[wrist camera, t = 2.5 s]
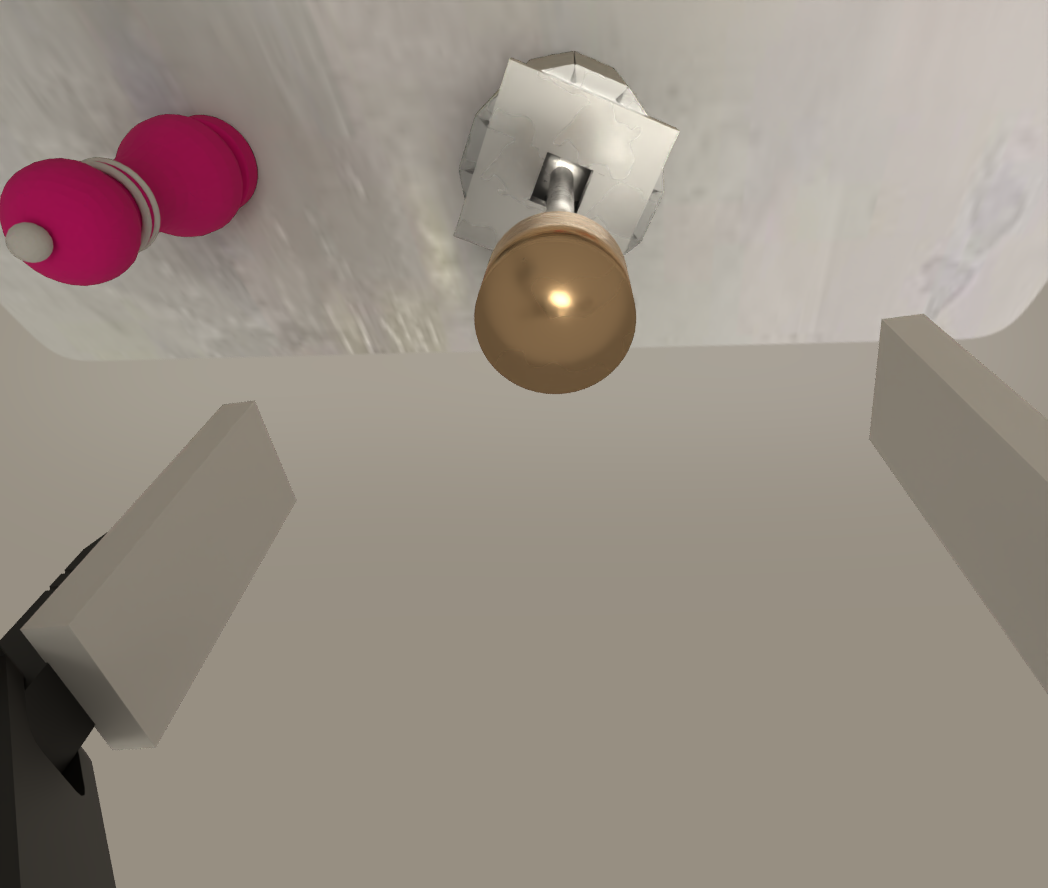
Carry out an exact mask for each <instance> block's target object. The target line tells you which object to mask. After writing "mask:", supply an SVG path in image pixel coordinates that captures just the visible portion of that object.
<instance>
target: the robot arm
mask: <svg viewBox="0 0 1048 888" xmlns="http://www.w3.org/2000/svg"><path fill="white" fill-rule="evenodd" d="M876 370H877V371H876V379H875V388H874V398H873V408H872V417H871V427H870V437H869V439H870V441H871V442H872V444H873V445H874V447H875V448H876V449H877V451H878V452H879V454H880V455H881V457H882V458H883V460H884V461H885V462H886V464H887V465H888V467H889V468H890V470H891V471H892V472H893V474H894V475H895V477H896V478H897V480H898V481H899V482H900V484H901V485H902V487H903V488H904V490H905V491H906V492H907V494H908V495H909V497H910V498H911V500H912V501H913V502H914V504H915V505H916V507H917V508H918V510H919V511H920V512H921V514H922V515H923V517H924V518H925V520H926V521H927V522H928V524H929V525H930V527H931V528H932V530H933V531H934V532H935V534H936V535H937V537H938V538H939V540H940V541H941V542H942V544H943V545H944V547H945V548H946V550H947V551H948V552H949V554H950V555H951V557H952V558H953V560H954V561H955V562H956V564H957V565H958V567H959V568H960V569H961V571H962V572H963V574H964V575H965V576H966V578H967V580H968V581H969V582H970V584H971V585H972V586H973V588H974V589H975V591H976V592H977V594H978V595H979V597H980V598H981V599H982V601H983V602H984V604H985V605H986V607H987V608H988V609H989V611H990V612H991V614H992V615H993V616H994V618H995V619H996V621H997V622H998V624H999V625H1000V626H1001V628H1002V629H1003V631H1004V632H1005V634H1006V635H1007V636H1008V638H1009V639H1010V641H1011V642H1012V644H1013V645H1014V646H1015V648H1016V649H1017V651H1018V652H1019V654H1020V655H1021V657H1022V658H1023V659H1024V661H1025V662H1026V664H1027V665H1028V666H1029V668H1030V669H1031V671H1032V672H1033V674H1034V675H1035V677H1036V678H1037V679H1038V681H1039V682H1040V684H1041V685H1042V687H1043V688H1044V689H1045V690H1046V692H1047V694H1048V419H1047V418H1046V417H1044V416H1043V415H1042V414H1041V413H1040V412H1039V411H1037V410H1036V409H1035V408H1034V407H1032V406H1031V405H1030V404H1029V403H1028V402H1027V401H1026V400H1024V399H1023V398H1022V397H1021V396H1020V395H1018V394H1017V393H1016V392H1015V391H1014V390H1013V389H1011V388H1010V387H1009V386H1008V385H1007V384H1005V383H1004V382H1003V381H1002V380H1001V379H1000V378H998V377H997V376H996V375H995V374H994V373H993V372H991V371H990V370H989V369H988V368H987V367H985V366H984V365H983V364H982V363H981V362H980V361H978V360H977V359H976V358H975V357H974V356H972V355H971V354H970V353H969V352H968V351H967V350H965V349H964V348H963V347H962V346H961V345H960V344H958V343H957V342H956V341H955V340H954V339H953V338H951V337H950V336H949V335H948V334H947V333H945V332H944V331H943V330H942V329H941V328H940V327H938V326H937V325H936V324H935V323H934V322H933V321H931V320H930V319H929V318H928V317H927V316H925V315H924V314H919V315H911V316H903V317H895V318H888V319H882V321H881V330H880V340H879V351H878V359H877V369H876ZM295 502H296V498H295V495H294V493H293V491H292V488H291V486H290V484H289V481H288V479H287V476H286V474H285V472H284V469H283V467H282V464H281V462H280V460H279V457H278V455H277V453H276V450H275V448H274V445H273V443H272V441H271V438H270V436H269V433H268V431H267V429H266V426H265V424H264V422H263V419H262V417H261V415H260V412H259V410H258V407H257V405H256V402H255V401H247V402H239V403H232V404H224V405H222V406H221V407H220V408H219V409H218V411H217V412H216V413H215V414H214V415H213V416H212V417H211V418H210V419H209V421H208V422H207V423H206V424H205V425H204V426H203V427H202V428H201V429H200V431H199V432H198V433H197V434H196V435H195V436H194V437H193V438H192V439H191V440H190V442H189V443H188V444H187V445H186V446H185V447H184V448H183V449H182V450H181V452H180V453H179V454H178V455H177V456H176V457H175V458H174V459H173V460H172V462H171V463H170V464H169V465H168V466H167V467H166V468H165V469H164V470H163V471H162V473H161V474H160V475H159V476H158V477H157V478H156V479H155V480H154V481H153V483H152V484H151V485H150V486H149V487H148V488H147V489H146V490H145V491H144V493H143V494H142V495H141V496H140V497H139V498H138V499H137V500H136V501H135V503H134V504H133V505H132V506H131V507H130V508H129V509H128V510H127V511H126V513H125V514H124V515H123V516H122V517H121V518H120V519H119V520H118V522H117V523H116V524H115V525H114V526H113V527H112V528H111V529H110V530H109V531H108V532H107V533H106V534H104V535H103V536H102V537H100V538H99V539H97V540H96V541H95V542H93V543H92V544H90V545H89V546H88V547H86V548H85V549H83V551H82V552H81V553H80V554H79V555H78V556H77V557H76V558H75V559H74V561H72V563H71V564H70V565H69V566H68V567H67V568H66V569H65V574H61V575H60V576H59V577H58V578H57V579H56V580H55V581H54V582H53V583H52V584H51V586H50V590H49V591H45V592H44V593H43V594H42V595H41V596H40V598H39V599H38V600H37V601H36V602H35V603H34V604H33V605H32V606H31V607H30V608H29V610H28V611H27V612H26V613H25V614H24V615H23V616H22V617H21V618H20V619H19V620H18V621H17V623H16V624H15V625H14V626H13V627H12V628H11V629H10V630H9V631H8V632H7V633H6V634H5V636H4V637H3V638H2V639H1V640H0V888H116V886H115V880H114V876H113V870H112V865H111V860H110V854H109V849H108V844H107V840H106V834H105V829H104V824H103V818H102V813H101V808H100V803H99V797H98V792H97V787H96V781H95V776H94V771H93V766H92V761H91V760H90V758H89V756H88V755H87V753H86V752H85V751H84V749H83V748H82V747H81V745H82V744H83V742H84V741H85V740H86V738H87V737H88V735H89V734H90V732H91V731H92V729H93V728H94V727H95V728H96V729H97V731H98V732H99V733H100V734H101V736H102V737H103V738H104V740H105V741H106V742H107V744H108V745H109V746H110V748H111V749H112V750H123V749H141V748H155V747H156V746H157V744H158V743H159V741H160V739H161V737H162V736H163V734H164V732H165V730H166V729H167V727H168V725H169V723H170V722H171V720H172V718H173V716H174V715H175V713H176V711H177V709H178V708H179V706H180V704H181V702H182V701H183V699H184V697H185V695H186V694H187V692H188V690H189V688H190V686H191V685H192V683H193V681H194V679H195V678H196V676H197V674H198V672H199V671H200V669H201V667H202V665H203V663H204V662H205V660H206V658H207V657H208V655H209V653H210V651H211V650H212V648H213V646H214V644H215V643H216V641H217V639H218V637H219V636H220V634H221V632H222V630H223V628H224V627H225V625H226V623H227V622H228V620H229V618H230V616H231V615H232V613H233V611H234V609H235V608H236V606H237V604H238V602H239V600H240V599H241V597H242V595H243V593H244V592H245V590H246V588H247V587H248V585H249V583H250V581H251V580H252V578H253V576H254V574H255V572H256V571H257V569H258V567H259V565H260V564H261V562H262V560H263V559H264V557H265V555H266V553H267V551H268V550H269V548H270V546H271V544H272V543H273V541H274V539H275V537H276V536H277V534H278V532H279V530H280V529H281V527H282V525H283V523H284V522H285V520H286V518H287V516H288V515H289V513H290V511H291V509H292V508H293V506H294V504H295Z"/></svg>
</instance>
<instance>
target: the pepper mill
mask: <svg viewBox="0 0 1048 888" xmlns="http://www.w3.org/2000/svg"><path fill="white" fill-rule="evenodd" d="M257 178H258V177H257V165H256V161H255V157H254V155H253V153H252V150H251V148H250V146H249V145H248V143H247V142H246V140H245V139H244V138H243V136H242V135H241V134H240V133H239V132H238V131H237V130H236V129H234V128H233V127H232V126H231V125H229V124H227V123H226V122H224V121H223V120H220V119H218V118H215V117H212V116H206V115H194V116H189V117H187V116H182V115H174V114H165V115H158V116H155V117H152V118H150V119H147V120H145V121H143V122H141V123H139V124H137V125H136V126H135V127H134V128H132V129H131V130H130V132H129V133H128V134H127V135H126V136H125V138H124V139H123V140H122V142H121V144H120V146H119V148H118V151H117V154H116V158H115V159H114V160H111V159H107V158H100V157H94V158H88V159H85V160H83V161H76V160H70V159H63V158H55V159H46V160H42V161H38V162H34V163H32V164H30V165H28V166H26V167H24V168H23V169H21V170H19V171H18V172H16V173H15V174H14V175H13V176H12V177H11V178H10V179H9V180H8V182H7V183H6V185H5V187H4V189H3V192H2V194H1V198H0V222H1V226H2V229H3V233H4V235H5V237H6V244H7V247H8V249H9V250H10V252H11V253H12V254H13V255H14V256H15V257H17V258H18V259H20V260H22V261H23V262H25V263H26V264H27V265H29V266H30V267H31V268H32V269H34V270H35V271H37V272H39V273H40V274H42V275H44V276H46V277H48V278H50V279H53V280H56V281H58V282H61V283H66V284H70V285H80V286H88V285H95V284H100V283H104V282H106V281H109V280H112V279H114V278H116V277H118V276H120V275H121V274H122V273H123V272H125V271H126V270H127V269H128V268H129V267H130V266H131V265H132V264H133V263H134V261H135V259H136V257H137V254H138V253H139V252H140V251H142V250H144V249H146V248H148V247H149V246H150V245H151V244H152V243H153V242H154V240H155V239H156V237H157V235H158V233H159V232H163V233H167V234H170V235H174V236H181V237H195V236H203V235H206V234H208V233H211V232H213V231H216V230H218V229H220V228H222V227H224V226H225V225H226V224H227V223H229V222H230V221H231V219H232V218H233V217H234V216H235V214H236V213H237V211H238V209H239V208H240V207H241V206H243V205H244V204H245V203H247V202H248V201H249V199H250V198H251V197H252V195H253V193H254V191H255V188H256V184H257Z"/></svg>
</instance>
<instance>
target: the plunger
mask: <svg viewBox="0 0 1048 888" xmlns="http://www.w3.org/2000/svg"><path fill="white" fill-rule="evenodd" d="M591 171H592V170H590V169H588V168H585V167H583V166H581V165H578V164H576V163H573V162H571V161H568V160H566V159H563V158H561V157H558V156H556V155H554V154H551V153H549V152H547V154H546V157H545V160H544V162H543V165H542V168H541V171H540V173H539V176H538V179H537V182H536V184H535V187H534V190H533V193H532V195H531V196H534V197H536V198H539V199H541V200H544V201H546V202H547V206H546V212H543V213H539V214H535V215H533V216H530V217H527V218H526V219H524V220H522V221H520V222H518V223H517V224H516V225H514V226H513V227H511V228H510V229H509V230H508V231H507V232H506V233H505V234H504V235H503V237H502V238H501V239H500V240H499V242H498V243H497V245H496V247H495V248H494V250H493V252H492V255H491V257H490V260H489V263H488V266H487V269H486V272H485V275H484V278H483V281H482V285H481V288H480V291H479V294H478V297H477V301H476V306H475V314H474V317H475V330H476V335H477V338H478V342H479V344H480V347H481V349H482V351H483V353H484V355H485V356H486V358H487V359H488V361H489V362H490V363H491V364H492V366H493V367H494V368H495V369H496V370H497V371H498V372H499V373H500V374H501V375H502V376H504V377H505V378H507V379H508V380H509V381H511V382H513V383H514V384H516V385H518V386H520V387H523V388H525V389H528V390H532V391H535V392H540V393H546V394H563V393H570V392H576V391H579V390H582V389H585V388H588V387H590V386H592V385H594V384H596V383H598V382H599V381H601V380H602V379H604V378H605V377H607V376H608V375H609V374H610V373H611V372H612V371H613V370H614V369H615V368H616V367H617V366H618V365H619V364H620V363H621V361H622V360H623V359H624V357H625V355H626V353H627V352H628V350H629V348H630V345H631V343H632V340H633V336H634V333H635V326H636V309H635V303H634V298H633V293H632V289H631V284H630V280H629V275H628V271H627V266H626V263H625V259H624V256H623V254H622V252H621V249H620V247H619V246H618V244H617V242H616V241H615V239H614V238H613V237H612V236H611V235H610V234H609V232H608V231H607V230H605V229H604V228H603V227H602V226H601V225H599V224H598V223H596V222H595V221H593V220H591V219H589V218H587V217H585V216H582V215H579V214H576V213H575V210H576V208H577V205H578V203H579V200H580V198H581V195H582V193H583V190H584V188H585V185H586V183H587V181H588V178H589V176H590V173H591Z"/></svg>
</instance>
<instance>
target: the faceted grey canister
mask: <svg viewBox="0 0 1048 888" xmlns="http://www.w3.org/2000/svg"><path fill="white" fill-rule="evenodd" d="M678 134H679V130H678V129H677V128H676V127H673V126H671V125H668V124H666V123H664V122H661V121H659V120H657V119H654V118H652V117H650V116H648V115H647V114H646V112H645V111H644V109H643V108H642V106H641V105H640V103H639V102H638V100H637V99H636V97H635V96H634V94H633V93H632V91H631V90H630V88H629V87H628V85H627V84H626V83H625V82H624V80H623V79H622V78H621V77H620V75H619V74H618V73H617V71H616V70H615V69H614V68H612V67H610V66H608V65H605V64H603V63H601V62H599V61H597V60H595V59H593V58H590V57H587V56H584V55H582V54H580V53H578V52H575V51H574V53H573V51H571V52H566V53H560V54H552V55H548V56H545V57H540V58H534V59H531V60H529V61H528V62H527V63H526V64H525V63H523V62H521V61H518V60H516V59H514V58H510V59H509V61H508V64H507V67H506V71H505V74H504V77H503V80H502V83H501V87H500V89H499V90H498V91H497V92H496V93H495V94H494V95H493V96H492V97H491V98H490V99H489V100H488V101H487V103H486V104H485V105H484V106H483V107H482V108H481V109H480V110H479V111H478V112H477V113H476V115H475V118H474V121H473V124H472V128H471V131H470V134H469V138H468V141H467V144H466V147H465V151H464V154H463V157H462V161H461V164H460V167H459V169H460V170H459V173H460V178H461V183H462V188H463V192H464V197H465V202H464V205H463V208H462V211H461V214H460V218H459V221H458V224H457V227H456V230H455V234H454V236H456V237H458V238H461V239H463V240H466V241H469V242H471V243H474V244H476V245H479V246H482V247H484V248H487V249H490V250H492V251H493V250H494V248H495V247H496V245H497V243H498V242H499V240H500V239H501V238H502V237H503V235H504V234H505V233H506V232H507V231H508V230H509V229H510V228H511V227H513V226H514V225H516V224H517V223H518V222H520V221H522V220H524V219H526V218H527V217H530V216H533V215H535V214H539V213H543V212H546V206H547V202H546V201H544V200H541V199H539V198H536V197H534V196H531V195H532V193H533V190H534V187H535V184H536V182H537V179H538V176H539V173H540V171H541V168H542V165H543V162H544V160H545V157H546V154H547V152H549V153H551V154H554V155H556V156H558V157H561V158H563V159H566V160H568V161H571V162H573V163H576V164H578V165H581V166H583V167H585V168H588V169H590V170H592V171H591V173H590V176H589V178H588V181H587V183H586V185H585V188H584V190H583V193H582V195H581V198H580V200H579V203H578V205H577V208H576V210H575V213H576V214H579V215H582V216H585V217H587V218H589V219H591V220H593V221H595V222H596V223H598V224H599V225H601V226H602V227H603V228H604V229H605V230H607V231H608V232H609V234H610V235H611V236H612V237H613V238H614V239H615V241H616V242H617V244H618V246H619V247H620V249H621V252H622V254H623V255H625V254H626V253H627V252H629V251H630V250H631V249H633V248H634V247H635V246H637V245H638V244H639V243H640V241H642V239H643V237H644V235H645V233H646V231H647V228H648V226H649V224H650V222H651V220H652V218H653V215H654V213H655V211H656V209H657V207H658V205H659V203H660V200H661V198H662V196H663V194H664V192H663V191H664V179H663V167H664V164H665V162H666V160H667V158H668V156H669V153H670V151H671V149H672V147H673V145H674V142H675V140H676V138H677V136H678Z"/></svg>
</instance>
